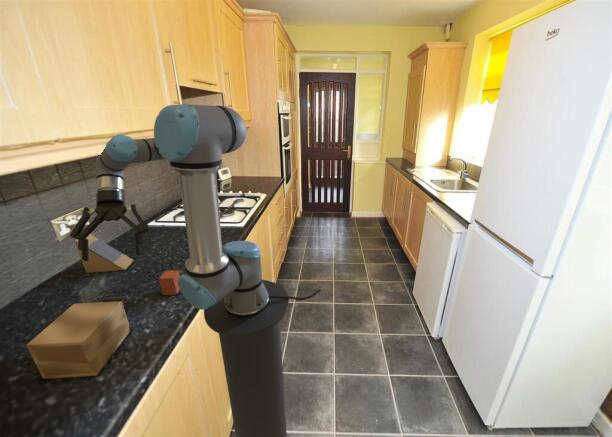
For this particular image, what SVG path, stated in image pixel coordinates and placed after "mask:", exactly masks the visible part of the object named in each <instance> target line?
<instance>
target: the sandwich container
mask: <svg viewBox="0 0 612 437" xmlns="http://www.w3.org/2000/svg"><path fill="white" fill-rule="evenodd" d="M86 239H88V249H89V261H84V260H82V250H79V249H78V239H74V244H75V246H76V249H77V252H78V254H79V257H80V259H81V262H82V265H83V268H84V271H85V273H86V274H91V273H104V272H114V271H125V270H126V269H128V268H129V267H130V266H131V264H132V263H133V262H134V259H133V258H132V257H129V256H128V255H126V254H124V253H122V252H121V251H120V250H117V249H116V248H114V247H112V246H111V245H110V244H107V243H106V242H104V241H103V240H101V239H100V238H98V237H96V236H94V235H93V234H92V233H91V234H90V235H89V236H88V237H87V238H86Z"/></svg>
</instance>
